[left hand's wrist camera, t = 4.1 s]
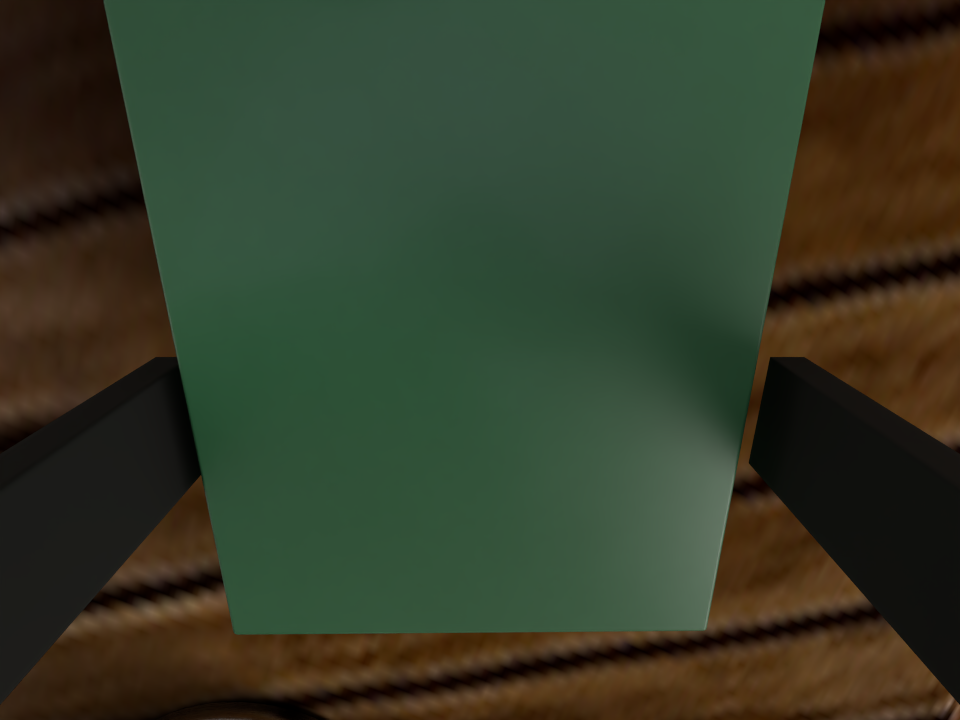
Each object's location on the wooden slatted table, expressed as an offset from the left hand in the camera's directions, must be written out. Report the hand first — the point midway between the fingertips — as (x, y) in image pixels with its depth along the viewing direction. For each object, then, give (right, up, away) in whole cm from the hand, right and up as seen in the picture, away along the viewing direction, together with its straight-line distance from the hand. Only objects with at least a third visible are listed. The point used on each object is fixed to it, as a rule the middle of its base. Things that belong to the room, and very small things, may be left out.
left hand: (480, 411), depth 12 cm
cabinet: (0, +8, +7) cm, 11 cm away
